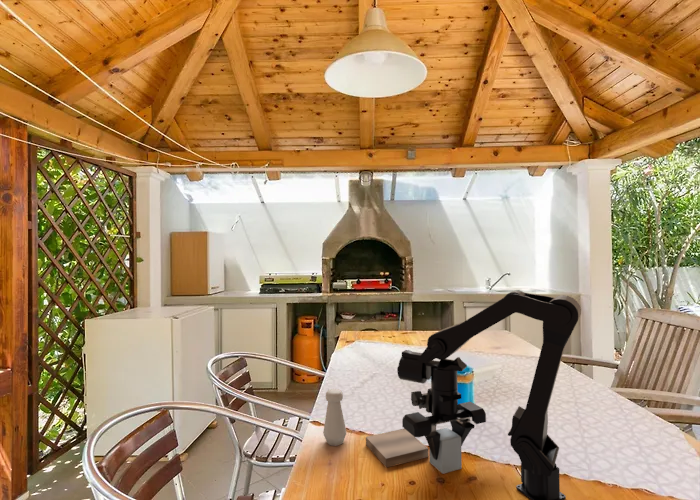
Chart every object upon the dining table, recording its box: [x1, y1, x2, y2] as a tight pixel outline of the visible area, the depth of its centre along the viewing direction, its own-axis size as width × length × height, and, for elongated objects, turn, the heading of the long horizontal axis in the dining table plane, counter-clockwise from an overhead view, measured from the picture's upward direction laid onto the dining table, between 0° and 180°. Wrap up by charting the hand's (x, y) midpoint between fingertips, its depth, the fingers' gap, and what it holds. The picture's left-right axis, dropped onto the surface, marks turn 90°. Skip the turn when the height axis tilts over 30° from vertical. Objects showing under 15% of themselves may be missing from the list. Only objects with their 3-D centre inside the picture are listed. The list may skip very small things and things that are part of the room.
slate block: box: [428, 427, 462, 474], centre depth 90 cm, size 5×5×7 cm
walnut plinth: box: [365, 428, 429, 468], centre depth 96 cm, size 11×11×2 cm
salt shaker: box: [322, 388, 347, 447], centre depth 101 cm, size 6×6×13 cm
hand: (445, 456), depth 90 cm, fingers closed on slate block, 5 cm apart
